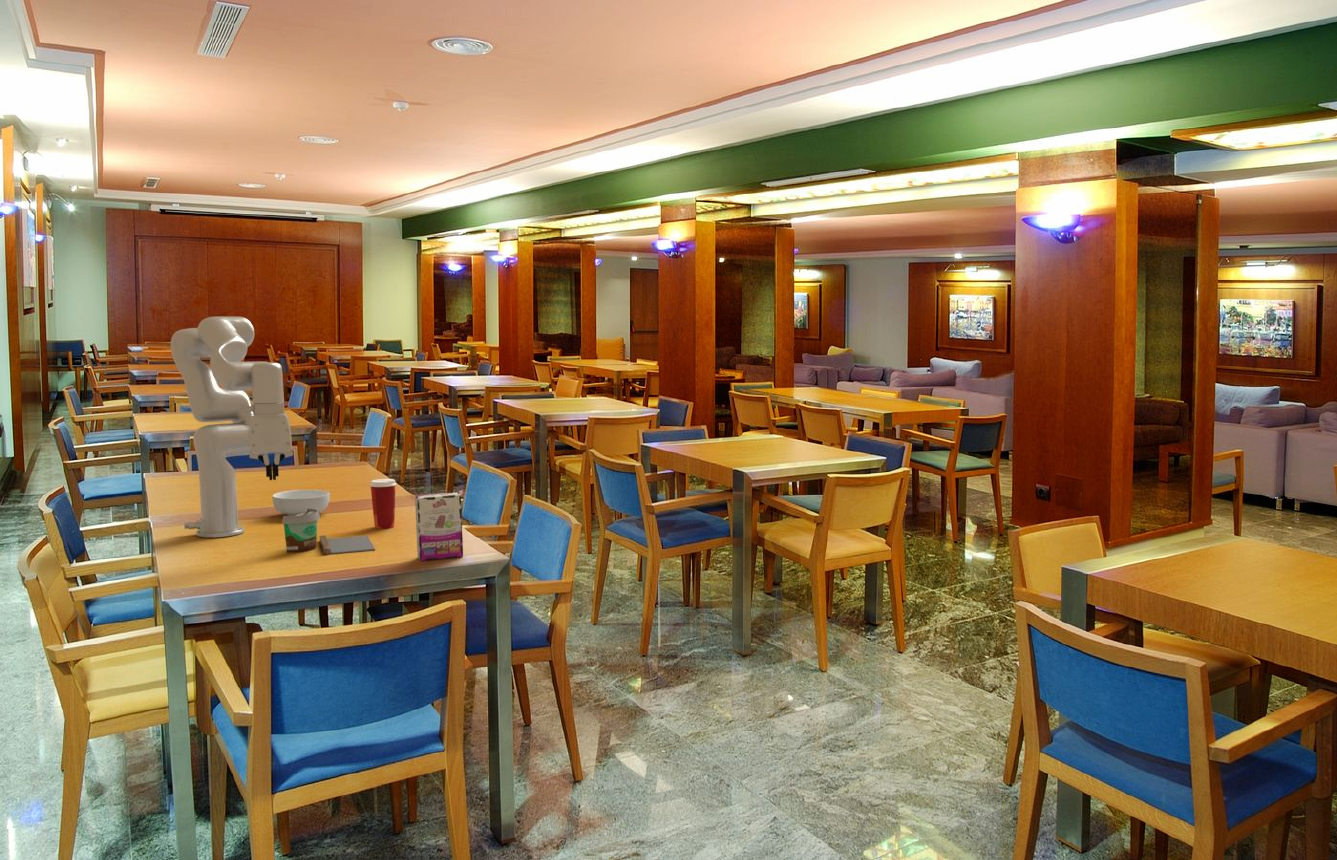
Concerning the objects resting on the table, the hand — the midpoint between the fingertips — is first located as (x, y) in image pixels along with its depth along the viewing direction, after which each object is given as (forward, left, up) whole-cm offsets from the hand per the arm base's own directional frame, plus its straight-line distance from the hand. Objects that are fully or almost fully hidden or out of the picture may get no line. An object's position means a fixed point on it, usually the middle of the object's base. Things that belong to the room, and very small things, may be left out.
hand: (272, 479), depth 256 cm
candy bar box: (+39, -24, -20) cm, 50 cm away
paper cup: (+30, +22, -20) cm, 43 cm away
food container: (+8, 0, -20) cm, 21 cm away
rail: (+12, 0, -19) cm, 23 cm away
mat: (+19, 0, -19) cm, 27 cm away
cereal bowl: (+9, +51, -20) cm, 56 cm away
